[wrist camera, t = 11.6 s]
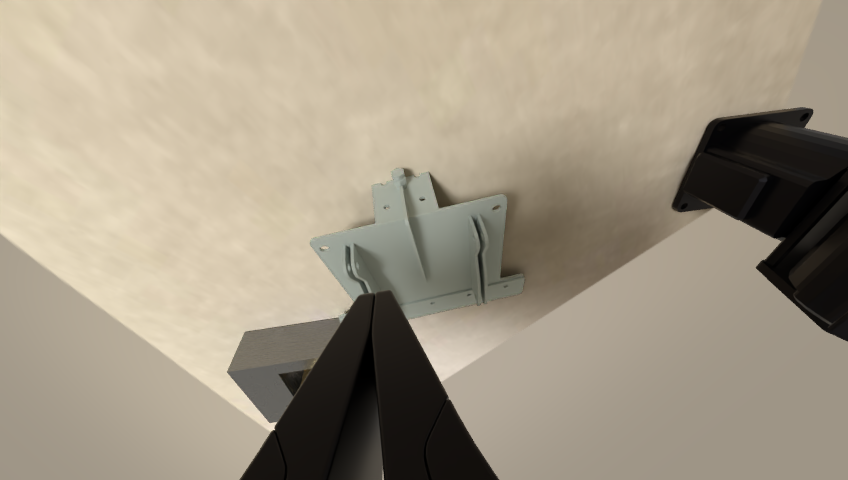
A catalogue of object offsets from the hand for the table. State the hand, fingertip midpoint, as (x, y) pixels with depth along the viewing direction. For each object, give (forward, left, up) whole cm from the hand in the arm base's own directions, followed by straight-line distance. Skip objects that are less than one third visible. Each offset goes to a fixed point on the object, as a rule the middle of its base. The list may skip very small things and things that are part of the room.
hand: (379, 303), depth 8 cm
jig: (+8, +17, -12) cm, 22 cm away
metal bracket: (-2, +8, -13) cm, 15 cm away
